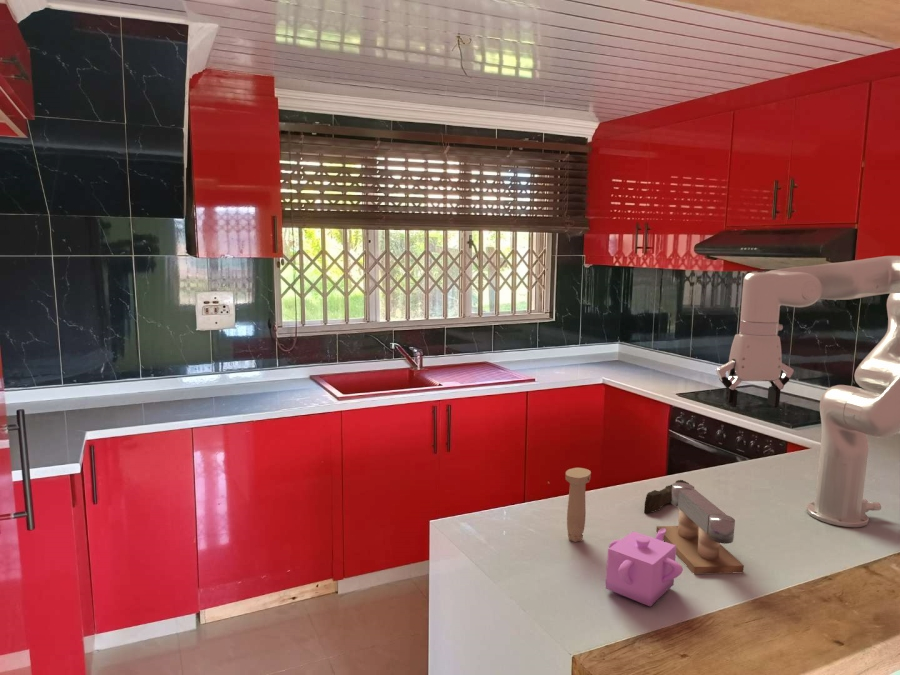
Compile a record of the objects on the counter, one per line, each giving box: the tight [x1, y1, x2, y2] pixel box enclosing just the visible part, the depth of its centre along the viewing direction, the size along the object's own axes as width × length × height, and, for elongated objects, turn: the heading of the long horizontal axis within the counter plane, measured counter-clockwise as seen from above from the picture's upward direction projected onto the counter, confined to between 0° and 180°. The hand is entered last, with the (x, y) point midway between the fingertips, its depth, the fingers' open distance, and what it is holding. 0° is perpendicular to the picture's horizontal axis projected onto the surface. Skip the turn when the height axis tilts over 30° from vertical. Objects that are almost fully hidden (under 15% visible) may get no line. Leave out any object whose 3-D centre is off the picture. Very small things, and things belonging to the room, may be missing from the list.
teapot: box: [605, 529, 684, 607], centre depth 116 cm, size 18×14×10 cm
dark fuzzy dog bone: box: [643, 479, 690, 514], centre depth 158 cm, size 19×4×5 cm, turn 130°
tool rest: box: [655, 508, 745, 575], centre depth 132 cm, size 10×18×7 cm, turn 5°
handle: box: [565, 467, 592, 543], centre depth 136 cm, size 5×6×15 cm
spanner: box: [670, 482, 736, 545], centre depth 131 cm, size 5×21×4 cm, turn 5°
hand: (751, 405), depth 141 cm, fingers open, 9 cm apart
